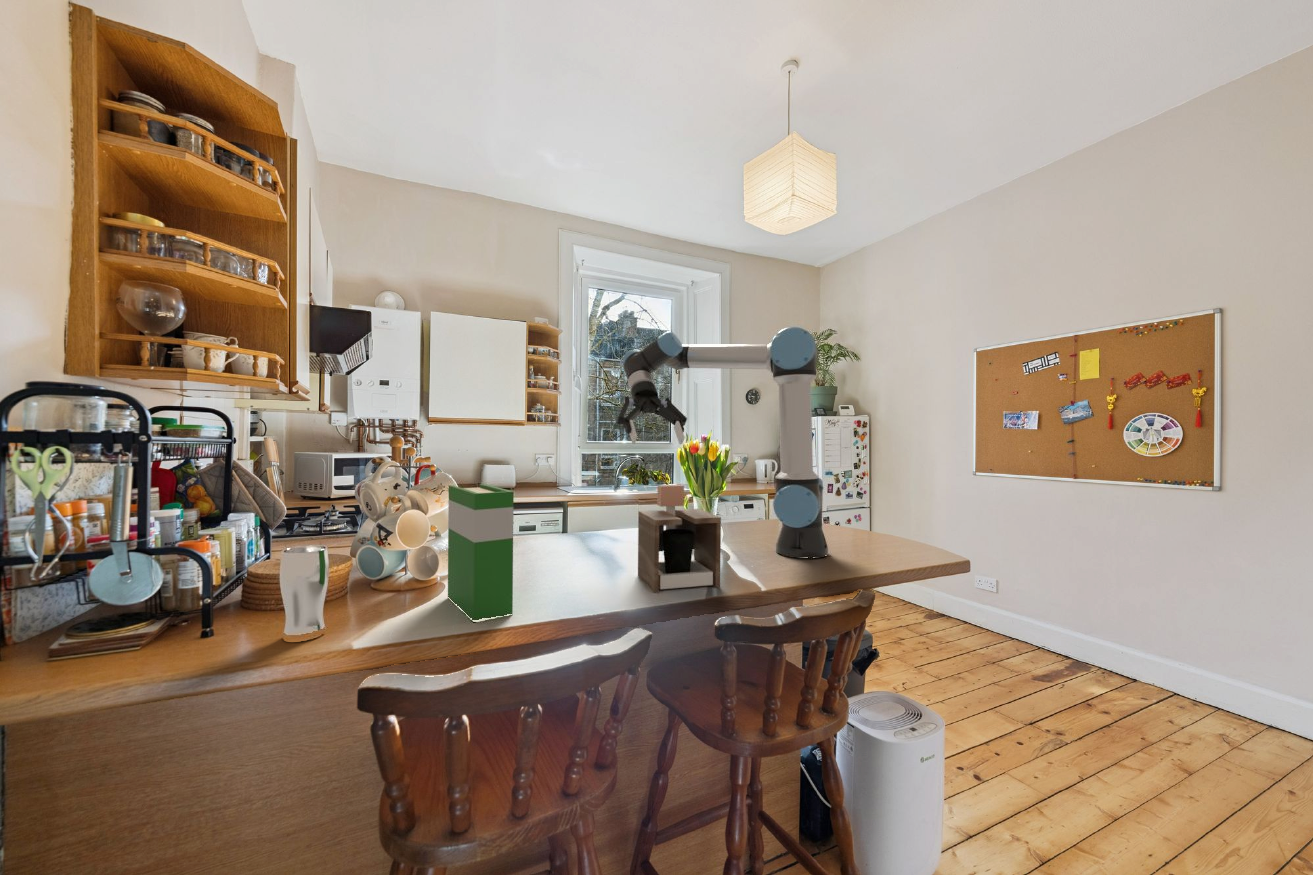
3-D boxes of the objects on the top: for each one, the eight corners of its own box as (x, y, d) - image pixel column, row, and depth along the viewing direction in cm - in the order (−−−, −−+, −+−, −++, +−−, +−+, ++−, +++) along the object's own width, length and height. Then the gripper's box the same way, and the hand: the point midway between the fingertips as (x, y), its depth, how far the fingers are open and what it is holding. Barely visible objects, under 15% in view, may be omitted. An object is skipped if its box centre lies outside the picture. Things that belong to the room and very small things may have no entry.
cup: (694, 586, 119) (694, 534, 119) (661, 585, 119) (662, 534, 119) (692, 577, 126) (693, 528, 126) (661, 576, 126) (662, 528, 126)
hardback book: (447, 598, 108) (448, 485, 108) (482, 592, 113) (483, 483, 113) (473, 623, 94) (474, 493, 94) (512, 615, 99) (513, 491, 99)
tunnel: (697, 571, 132) (698, 508, 132) (720, 587, 118) (720, 517, 118) (637, 575, 127) (638, 510, 127) (654, 592, 114) (654, 520, 113)
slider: (691, 569, 131) (692, 484, 131) (712, 584, 118) (713, 490, 118) (643, 573, 128) (644, 485, 127) (660, 589, 115) (661, 491, 114)
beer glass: (276, 635, 88) (276, 548, 88) (323, 625, 93) (324, 542, 92) (283, 647, 83) (283, 555, 83) (332, 636, 88) (333, 549, 87)
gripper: (678, 400, 159) (696, 450, 145) (599, 397, 150) (611, 449, 136) (685, 381, 154) (705, 431, 140) (604, 377, 145) (616, 430, 131)
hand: (658, 440), depth 138 cm, fingers open, 13 cm apart
